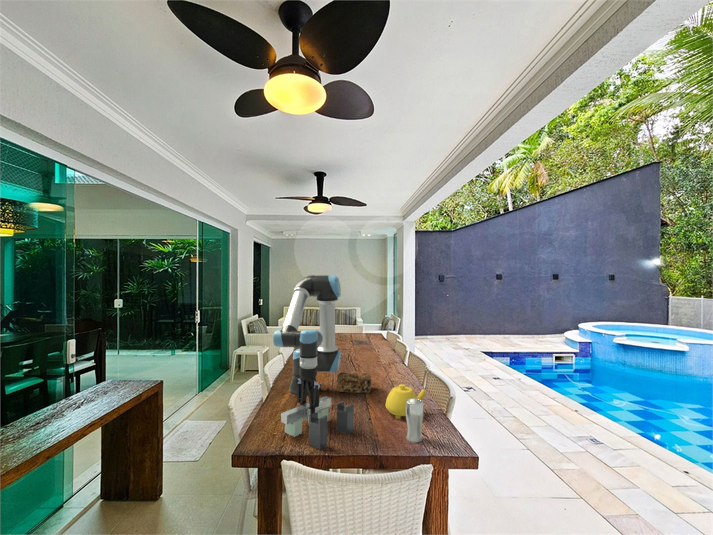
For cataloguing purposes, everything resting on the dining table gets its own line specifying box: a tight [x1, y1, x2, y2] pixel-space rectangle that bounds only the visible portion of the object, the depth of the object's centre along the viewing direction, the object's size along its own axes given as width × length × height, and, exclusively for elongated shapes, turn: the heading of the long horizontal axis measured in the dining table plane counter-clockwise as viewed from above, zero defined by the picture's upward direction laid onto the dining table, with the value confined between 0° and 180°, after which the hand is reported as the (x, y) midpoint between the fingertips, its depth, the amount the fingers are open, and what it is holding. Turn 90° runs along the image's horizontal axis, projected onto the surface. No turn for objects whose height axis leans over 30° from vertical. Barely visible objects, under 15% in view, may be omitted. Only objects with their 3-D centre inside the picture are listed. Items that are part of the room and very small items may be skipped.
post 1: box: [308, 412, 328, 450], centre depth 133 cm, size 6×4×11 cm
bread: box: [337, 371, 372, 394], centre depth 198 cm, size 19×11×10 cm, turn 88°
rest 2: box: [315, 407, 330, 422], centre depth 156 cm, size 6×4×6 cm, turn 52°
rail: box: [280, 395, 332, 425], centre depth 150 cm, size 4×26×4 cm, turn 142°
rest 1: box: [284, 419, 303, 438], centre depth 143 cm, size 6×4×6 cm, turn 52°
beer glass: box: [405, 398, 424, 444], centre depth 139 cm, size 7×7×15 cm
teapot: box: [385, 384, 428, 420], centre depth 164 cm, size 20×16×14 cm
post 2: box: [336, 400, 355, 435], centre depth 146 cm, size 6×4×11 cm
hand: (307, 421), depth 150 cm, fingers closed on rail, 3 cm apart
